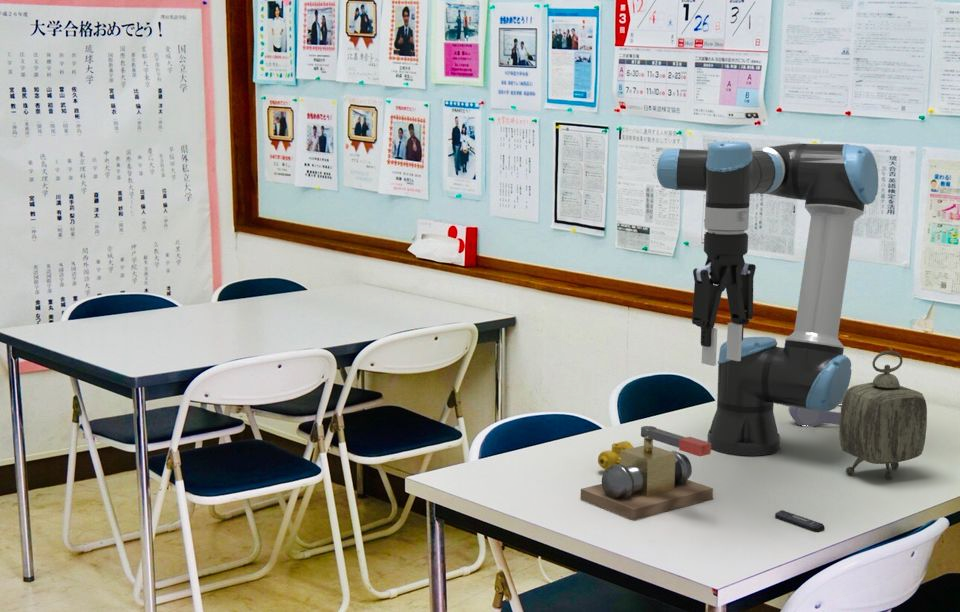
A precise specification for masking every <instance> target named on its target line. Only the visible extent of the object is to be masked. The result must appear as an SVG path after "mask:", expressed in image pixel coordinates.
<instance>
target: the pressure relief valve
mask: <svg viewBox="0 0 960 612" xmlns="http://www.w3.org/2000/svg"><path fill="white" fill-rule="evenodd" d="M630 448H635V447H634V446H633V444H631V443H630V441H628V440H624V441H619V442H616V443H612V444H611V450H605V451H602V452H600V454H599V455H598V458H597V463H598V465H599V467H600V468H602V469H603V470H605V472H606V471H607V469H608V468H609V467H610V466H613V465H617V464H620V463H621V450H626V449H630Z"/></svg>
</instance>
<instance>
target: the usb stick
mask: <svg viewBox="0 0 960 612" xmlns="http://www.w3.org/2000/svg"><path fill="white" fill-rule="evenodd" d="M774 517H775V519H776V520H780V521H783V522H785V523H789V524H791V525H793V526H797V527H799V528H803V529H805V530H808V531H811V532H813V533H821V532H824V531H825V525H824V524H823V523H822V522H818V521H817V520H813V519H809V518H807V517H804V516H800V515H798V514H795V513H792V512H790V511H786V510H783V509H781V510H779V511H777V512H775V514H774Z"/></svg>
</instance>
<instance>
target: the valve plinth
mask: <svg viewBox="0 0 960 612" xmlns="http://www.w3.org/2000/svg"><path fill="white" fill-rule="evenodd" d="M713 497H714V488H712V487H710V486H707V485H704V484H702V483H698V482H695V481H692V480H690V479H688V480H687V481H686V483H684V484H681V485H678V484H675V483H674V490H672V491H669V492H665V493H661V494H657V495H653V496H650V497H645V496H642V495H639V494H637V493H633V494H632V495H631V497H630V498H628V499H622V498H619V497H618V498H610V497H608V496H607V495H606V494H605V492H604V490H603V487H602V483H599V484H596V485H595V484H594V485H591V486H587V487H584V488H581V489H580V500H581V501H583V502H586V503H589V504H591V505H594V506H596V507H598V508H601V509H604V510H606V511H609V512H611V513H614V514H615V515H619V516H621V517H624V518H626V519H628V520H631V521H637V520H641V519H644V518H648V517H651V516H656V515H658V514H662V513H666V512H669V511H673V510H676V509H680V508H683V507H688V506H691V505H695V504H700V503H703V502H705V501H709V500H713V499H714V498H713Z"/></svg>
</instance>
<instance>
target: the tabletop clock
mask: <svg viewBox="0 0 960 612" xmlns="http://www.w3.org/2000/svg"><path fill="white" fill-rule="evenodd" d="M885 355H886V356H887V355H895V356H897V357H898V358H899V364H898V365H896V366H893V367H891V366H890V364H885V365H884V368H878V367H877V366H876V364H875V363H876V361H877V360H879V358H880V357H882V356H885ZM903 360H904V359H903V357H902V355H901V354H900V352H898V351H896V350H885V351H881V352H880V353H878V354H876V355H875V357H874V358H873V361H872V363H871V364H872V367H873V368H872V369H874V370H875V371H876V372H879V373H880V374H877V375H875V377H874V378H873V380H872V381H871V382H866V383H862V384H856V385H853V386H850V387H848V389H847V390H846V391H845V394H844V396H843V400H842V405H841V406H840V412H839V413H840V420H839V425H838V427H839V429H838V430H839V444H840V448H841V451H842V452H843V453H846V454H848V455H849V456H853V457H855V458H856V460H855V462H854V463H853V465H852V466H848V467H847V468H846V470H845V472H846V475H848V476H849V475H850V476H852V475H854V474H855V471H856V470H855V468H857V467H858V466H859V464H860V463H862V462H864V461H865V462H866V463H867V462H868V463H869V464H872V465H873V464H874V465H885V468H886V471H885V472H884V478H885V479H886V480H887V481H889V480H892V479H893V478H894V473H893V472H892V471H891V470H890V469H892V470H897V469H899V467H900V465H899V464H900V463H901V462H906V461H909V460H912V459H915V458H918V457H919V456H921V455H922V454H923V451H924V447H925V444H926V436H927V435H926V434H927V425H928V424H927V423H928V406H927V402H926V399H925V397H924V394H923V393H922V392H920V391H917V390H915V389H911V388H908V387H906V386H901V385H900V381H899V379H898V377H897V376H896V375H894V374H893V372H895V371H897V370H898V369H900V367H901V366H902V364H903Z"/></svg>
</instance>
